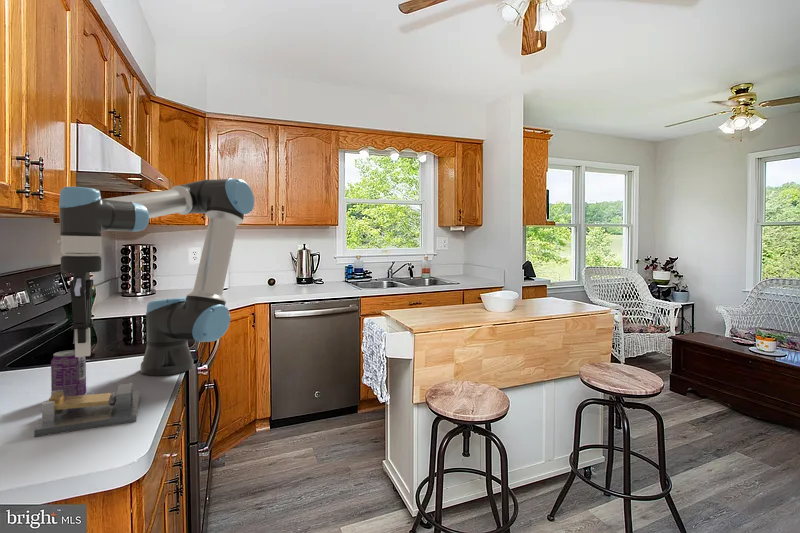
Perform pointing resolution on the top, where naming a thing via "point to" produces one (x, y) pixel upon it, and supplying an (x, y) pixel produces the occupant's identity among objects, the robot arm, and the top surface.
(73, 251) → the robot arm
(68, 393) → the beverage can
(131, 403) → the clamp base
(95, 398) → the tan flat panel
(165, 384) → the top surface
